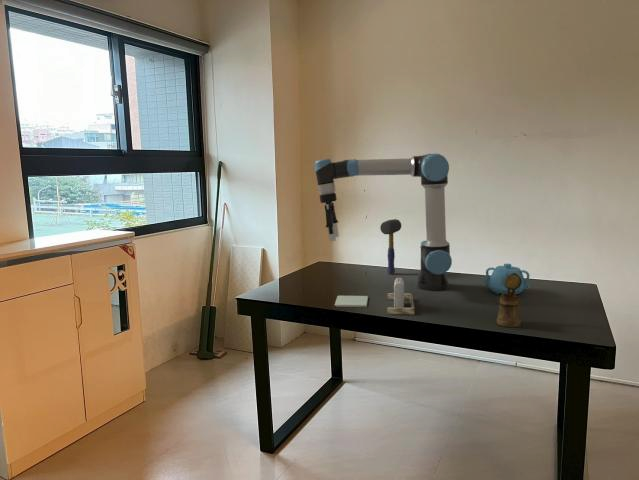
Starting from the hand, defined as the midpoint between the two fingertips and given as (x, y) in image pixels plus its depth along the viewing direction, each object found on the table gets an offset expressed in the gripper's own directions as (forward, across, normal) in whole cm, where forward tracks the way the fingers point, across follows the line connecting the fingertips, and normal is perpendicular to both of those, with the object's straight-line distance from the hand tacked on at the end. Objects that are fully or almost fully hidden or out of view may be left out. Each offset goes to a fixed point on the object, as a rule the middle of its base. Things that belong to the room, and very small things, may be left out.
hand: (334, 238), depth 228 cm
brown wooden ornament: (+38, +32, +67) cm, 83 cm away
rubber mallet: (+29, -43, +22) cm, 56 cm away
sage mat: (+28, +9, +4) cm, 30 cm away
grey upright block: (+31, +14, +25) cm, 43 cm away
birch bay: (+31, +14, +25) cm, 43 cm away
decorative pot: (+37, -9, +75) cm, 84 cm away
